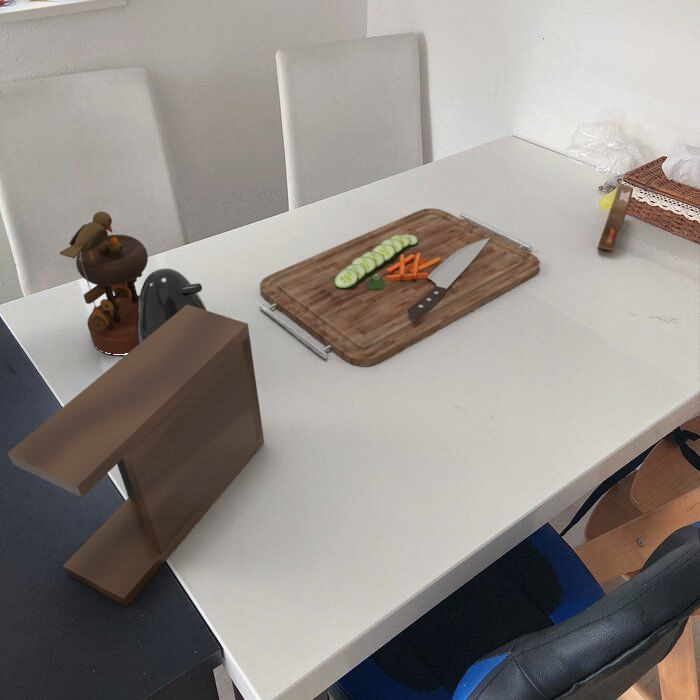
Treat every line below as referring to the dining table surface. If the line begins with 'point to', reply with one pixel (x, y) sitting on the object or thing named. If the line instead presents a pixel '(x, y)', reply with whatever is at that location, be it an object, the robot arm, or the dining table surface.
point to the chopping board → (396, 284)
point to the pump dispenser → (164, 300)
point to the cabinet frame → (154, 443)
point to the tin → (616, 217)
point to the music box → (109, 282)
